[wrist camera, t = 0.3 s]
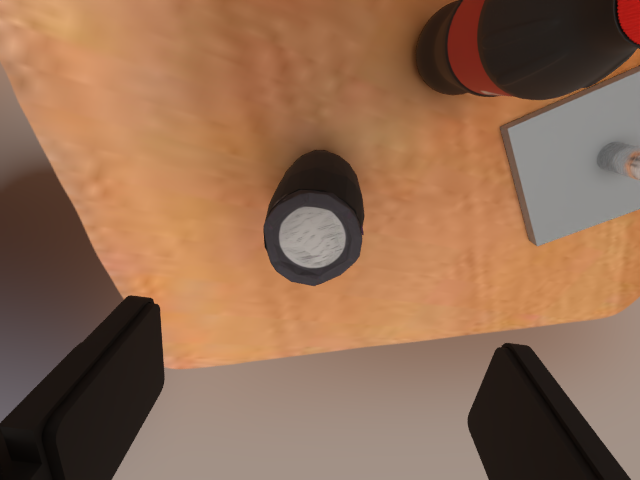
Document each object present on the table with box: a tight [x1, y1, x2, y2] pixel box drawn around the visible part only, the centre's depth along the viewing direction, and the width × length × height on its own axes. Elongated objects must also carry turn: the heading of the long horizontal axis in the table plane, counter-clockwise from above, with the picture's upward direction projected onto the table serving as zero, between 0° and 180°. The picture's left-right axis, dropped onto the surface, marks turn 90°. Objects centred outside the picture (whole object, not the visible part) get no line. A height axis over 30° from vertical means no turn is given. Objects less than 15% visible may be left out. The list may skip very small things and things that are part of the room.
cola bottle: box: [416, 0, 640, 100], centre depth 25 cm, size 8×8×30 cm
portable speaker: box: [264, 150, 364, 286], centre depth 36 cm, size 9×9×20 cm
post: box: [597, 142, 640, 181], centre depth 37 cm, size 3×3×7 cm
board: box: [500, 66, 640, 246], centre depth 41 cm, size 16×20×2 cm
